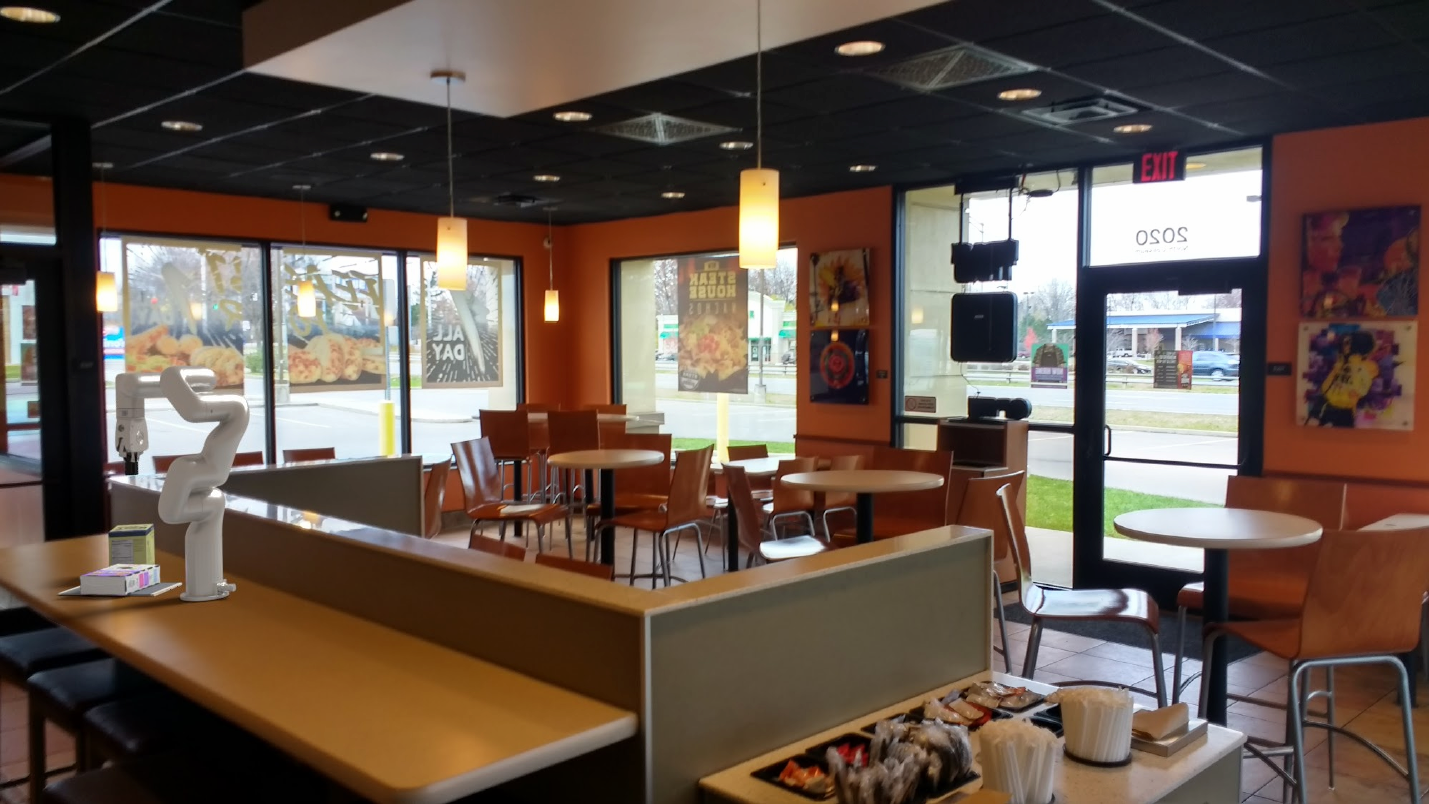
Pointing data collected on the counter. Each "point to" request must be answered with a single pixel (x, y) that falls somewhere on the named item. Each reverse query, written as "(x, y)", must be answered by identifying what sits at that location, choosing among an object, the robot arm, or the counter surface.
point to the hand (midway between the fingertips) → (131, 475)
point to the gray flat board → (147, 591)
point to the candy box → (119, 579)
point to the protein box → (131, 544)
